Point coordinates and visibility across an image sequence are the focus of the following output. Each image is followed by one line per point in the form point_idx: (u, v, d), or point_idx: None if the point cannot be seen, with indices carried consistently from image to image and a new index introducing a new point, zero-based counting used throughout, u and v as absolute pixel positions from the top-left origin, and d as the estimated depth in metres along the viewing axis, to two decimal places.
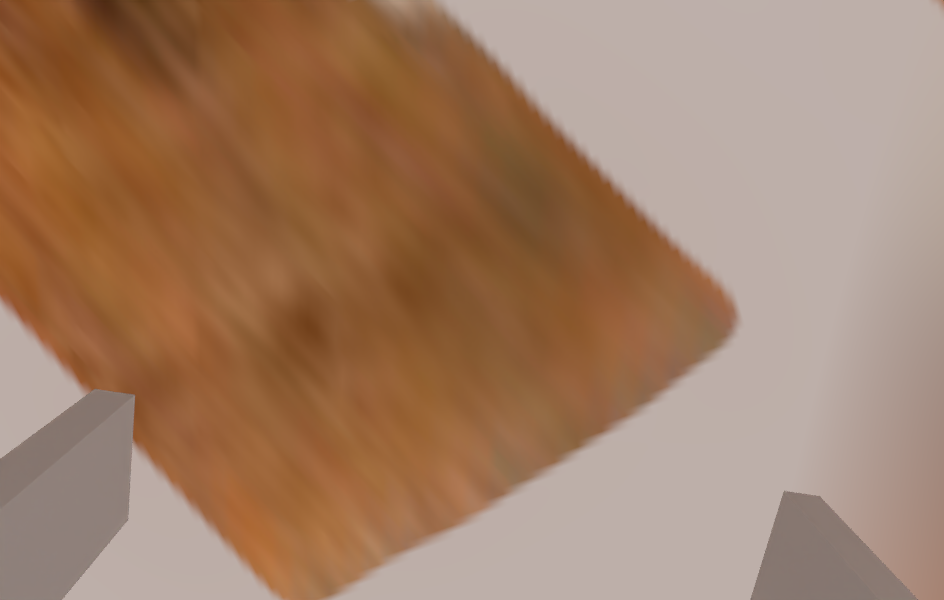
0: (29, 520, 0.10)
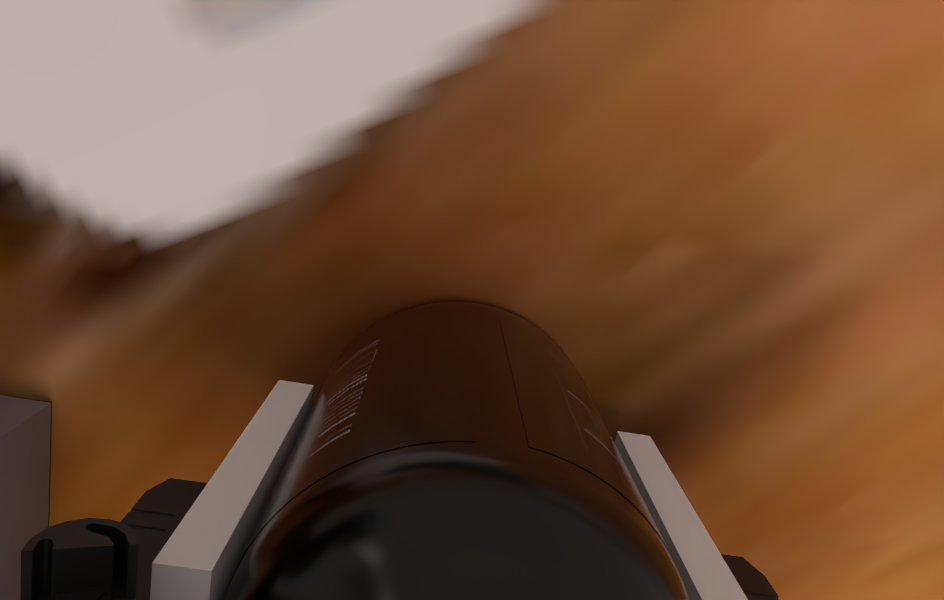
0: (271, 488, 0.12)
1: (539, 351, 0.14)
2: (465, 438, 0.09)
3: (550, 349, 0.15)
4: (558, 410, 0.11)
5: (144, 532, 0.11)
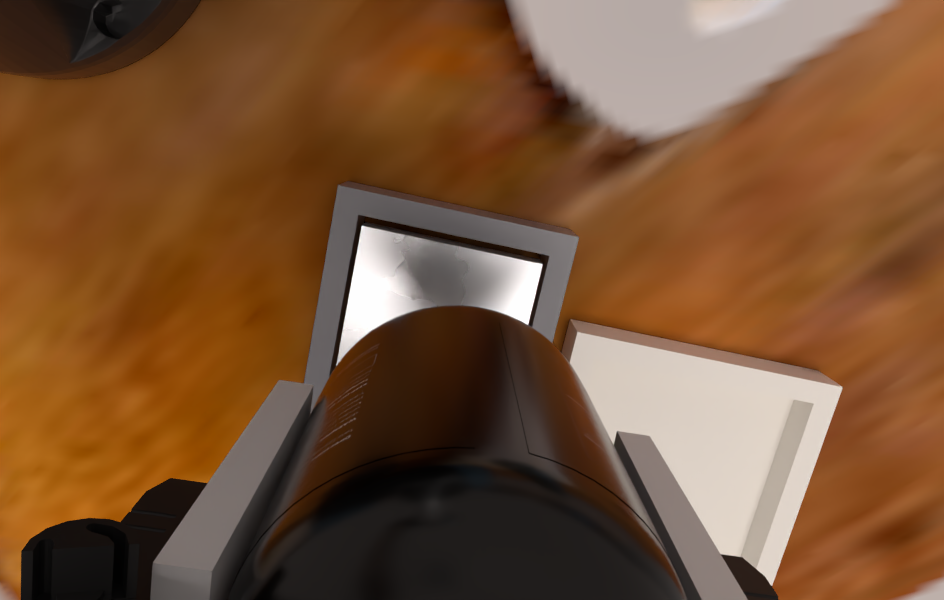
0: (270, 488, 0.12)
1: (539, 355, 0.14)
2: (466, 443, 0.09)
3: (550, 353, 0.15)
4: (558, 415, 0.11)
5: (144, 532, 0.11)
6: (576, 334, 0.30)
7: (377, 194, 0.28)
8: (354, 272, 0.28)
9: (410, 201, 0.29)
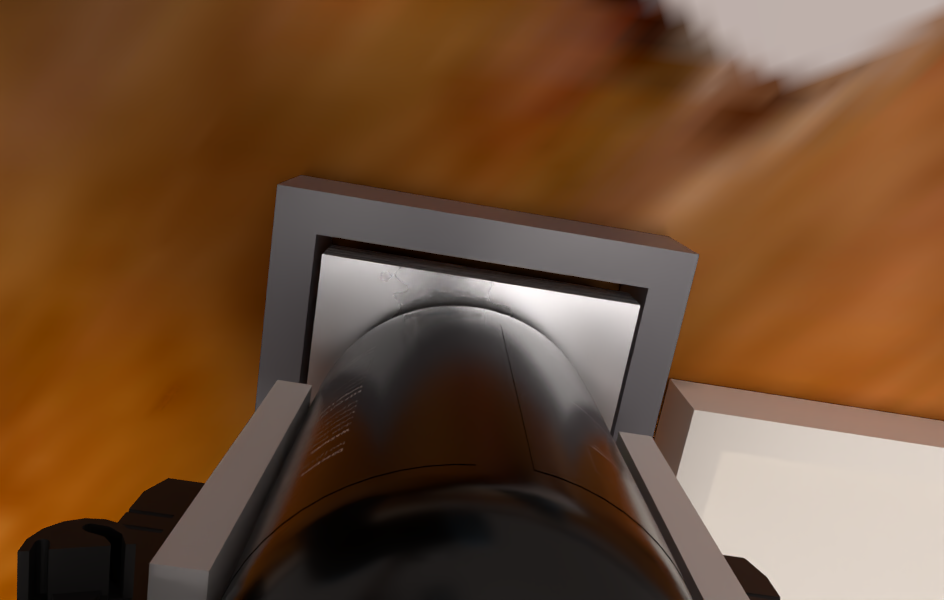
0: (268, 488, 0.12)
1: (543, 359, 0.14)
2: (465, 460, 0.09)
3: (554, 356, 0.14)
4: (564, 426, 0.11)
5: (142, 532, 0.11)
6: (692, 413, 0.18)
7: (347, 197, 0.16)
8: (314, 334, 0.16)
9: (405, 206, 0.16)
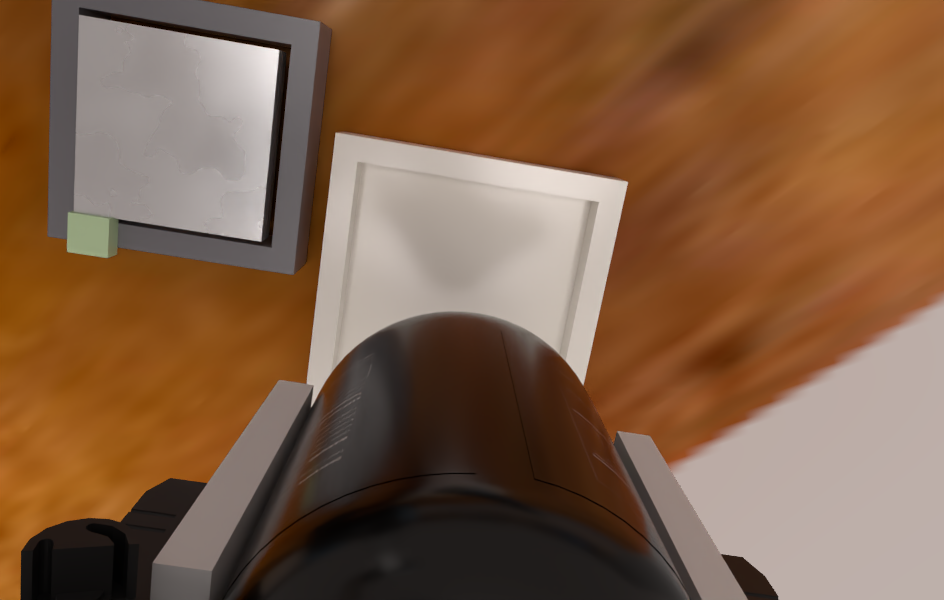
0: (270, 487, 0.12)
1: (543, 366, 0.14)
2: (464, 470, 0.09)
3: (555, 363, 0.14)
4: (564, 433, 0.11)
5: (144, 532, 0.11)
6: (335, 136, 0.28)
7: None
8: (78, 68, 0.27)
9: None
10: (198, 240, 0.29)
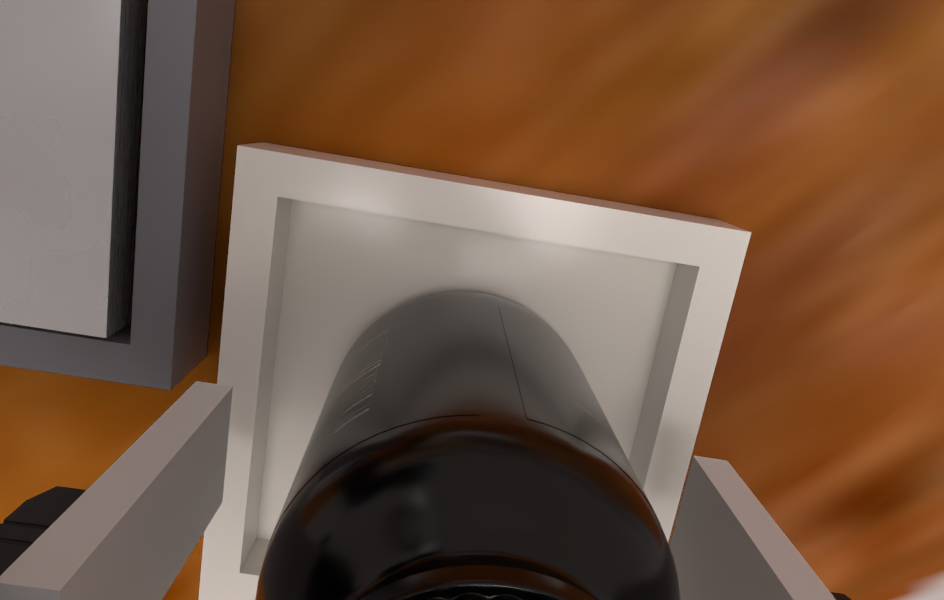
0: (164, 497, 0.11)
1: (536, 335, 0.16)
2: (470, 412, 0.11)
3: (546, 333, 0.16)
4: (552, 387, 0.13)
5: (11, 546, 0.10)
6: (238, 151, 0.16)
7: None
8: None
9: None
10: (2, 333, 0.17)
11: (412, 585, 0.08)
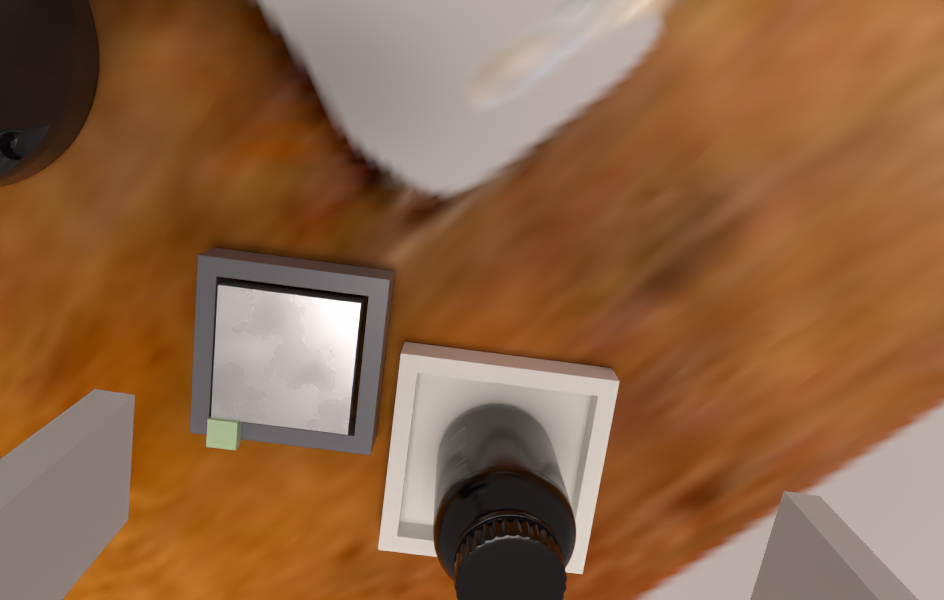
0: (30, 519, 0.10)
1: (527, 428, 0.38)
2: (502, 465, 0.33)
3: (532, 426, 0.39)
4: (531, 453, 0.35)
5: None
6: None
7: (229, 259, 0.37)
8: (217, 320, 0.37)
9: (255, 262, 0.37)
10: (300, 432, 0.39)
11: (489, 516, 0.30)
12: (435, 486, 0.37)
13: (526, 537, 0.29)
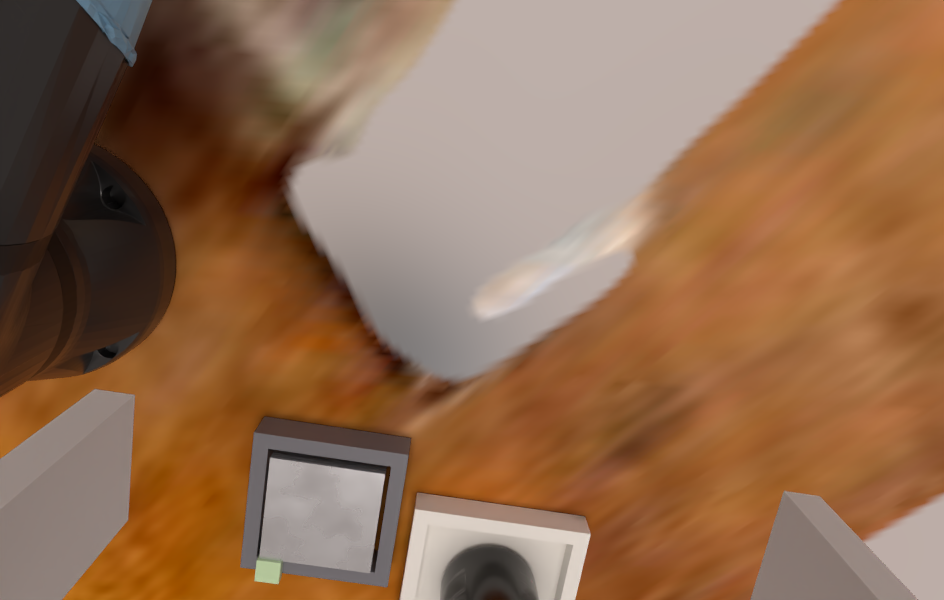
0: (30, 519, 0.10)
1: (514, 572, 0.47)
2: None
3: (518, 568, 0.48)
4: None
5: None
6: (414, 510, 0.47)
7: (279, 436, 0.45)
8: (267, 484, 0.46)
9: (300, 439, 0.45)
10: (331, 569, 0.48)
11: None
12: None
13: None
